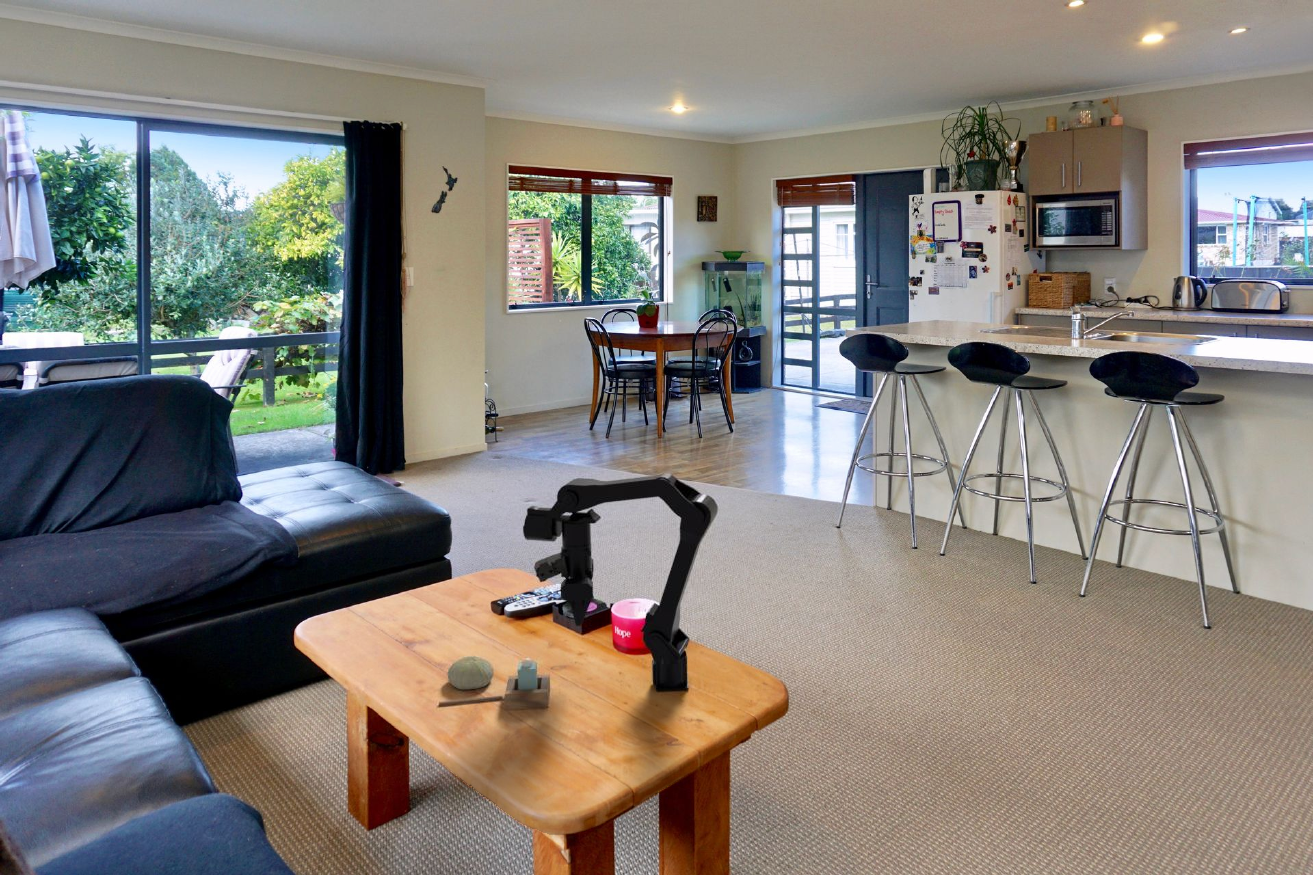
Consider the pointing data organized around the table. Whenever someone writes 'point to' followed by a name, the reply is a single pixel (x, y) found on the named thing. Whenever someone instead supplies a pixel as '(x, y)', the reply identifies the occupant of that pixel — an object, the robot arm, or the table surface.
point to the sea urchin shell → (470, 673)
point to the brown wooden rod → (470, 700)
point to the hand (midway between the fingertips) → (579, 616)
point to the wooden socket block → (527, 694)
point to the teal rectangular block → (527, 675)
